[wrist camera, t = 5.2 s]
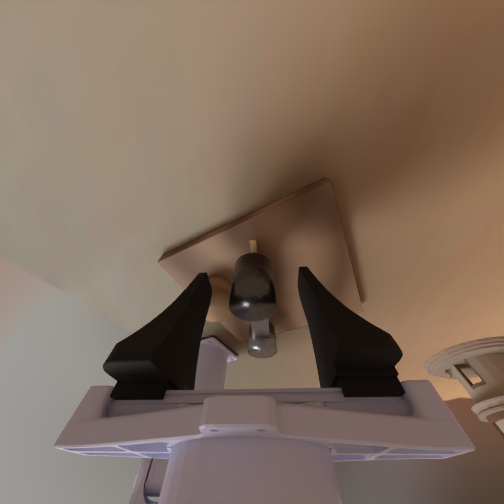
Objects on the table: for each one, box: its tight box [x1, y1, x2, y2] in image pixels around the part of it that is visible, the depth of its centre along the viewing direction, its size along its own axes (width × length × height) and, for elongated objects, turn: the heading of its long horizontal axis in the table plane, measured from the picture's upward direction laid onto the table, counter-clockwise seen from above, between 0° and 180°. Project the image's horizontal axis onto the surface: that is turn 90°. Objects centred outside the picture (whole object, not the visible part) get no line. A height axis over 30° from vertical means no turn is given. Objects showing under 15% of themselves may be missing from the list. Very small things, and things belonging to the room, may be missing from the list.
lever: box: [229, 253, 277, 358], centre depth 18 cm, size 16×4×6 cm, turn 5°
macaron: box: [206, 276, 232, 322], centre depth 20 cm, size 4×4×3 cm
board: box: [157, 178, 363, 343], centre depth 21 cm, size 18×18×1 cm
